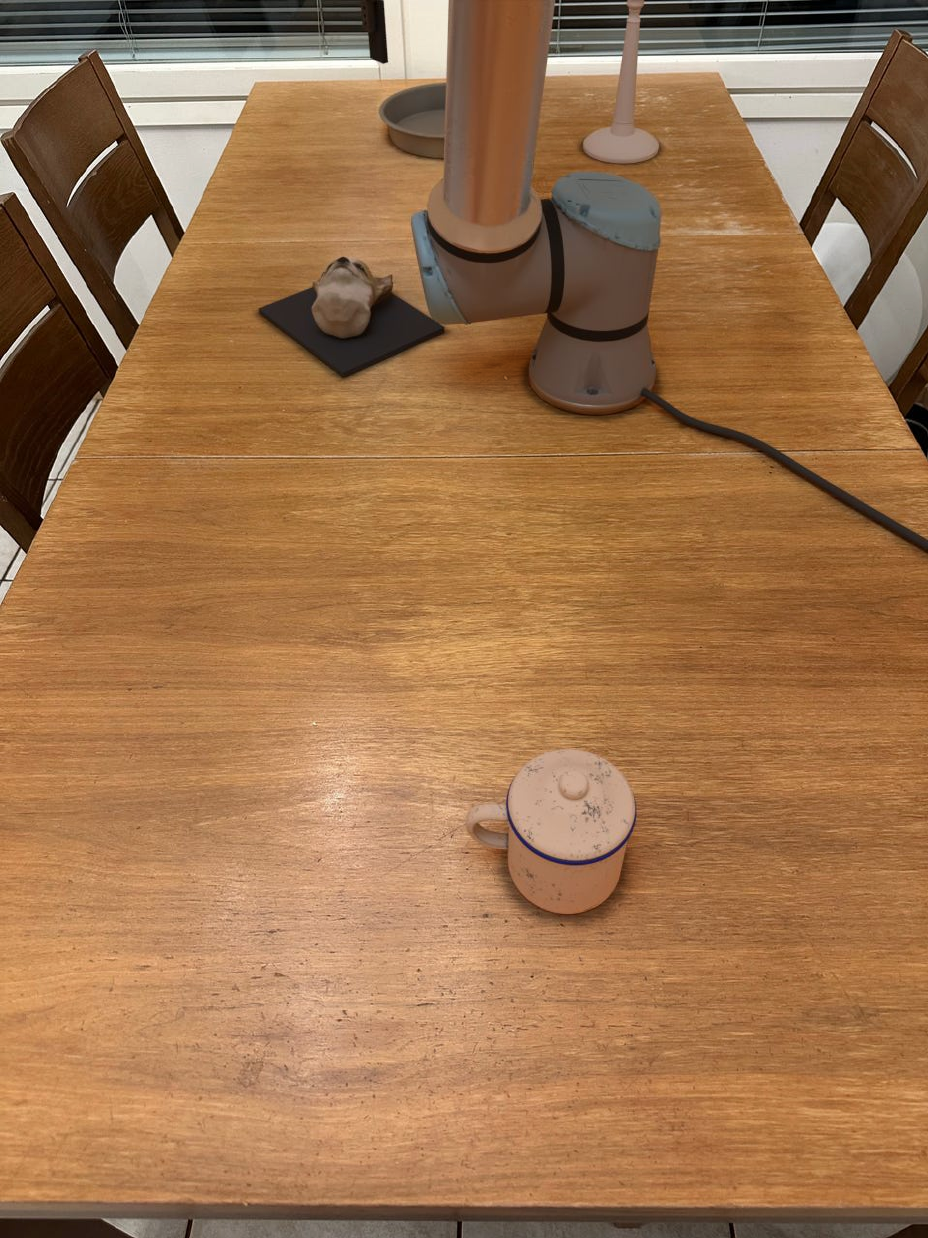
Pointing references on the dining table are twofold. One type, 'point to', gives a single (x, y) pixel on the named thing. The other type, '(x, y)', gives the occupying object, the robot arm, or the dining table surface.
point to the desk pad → (382, 338)
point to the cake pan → (417, 119)
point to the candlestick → (624, 108)
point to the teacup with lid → (562, 829)
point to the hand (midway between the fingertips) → (423, 47)
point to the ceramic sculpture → (347, 297)
